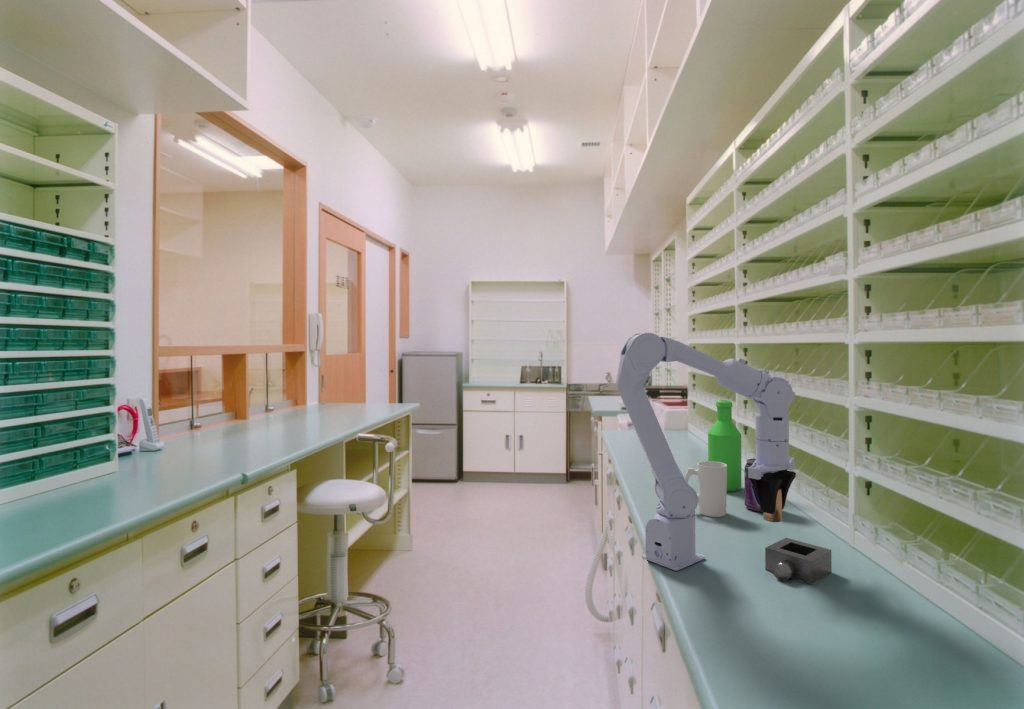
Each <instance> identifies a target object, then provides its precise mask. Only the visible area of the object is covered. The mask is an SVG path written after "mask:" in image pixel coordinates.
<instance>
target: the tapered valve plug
mask: <svg viewBox="0 0 1024 709" xmlns="http://www.w3.org/2000/svg"><path fill="white" fill-rule="evenodd" d="M762 515H763V520H764V521H766V522H770V523H781V522H783V510H782V489H781V488H779V489H778V493H777V499H776V508H775V512H774V514H770V513H765V512H762Z"/></svg>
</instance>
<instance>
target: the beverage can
mask: <svg viewBox="0 0 1024 709" xmlns="http://www.w3.org/2000/svg"><path fill="white" fill-rule="evenodd" d="M755 460H756V458H748V459H746V463H745V465H744V506H745V507H747V508H748V509H750V510H751V511H753V512H757V513H758V512H760V513H763V512H762V510H761V507H760V503H759V499H758V496H757V493H756V490H755V488H754V486H753V484H752V482H751V481H750V479H749V478H748V467H751V466H752V464H753V463H754V461H755Z"/></svg>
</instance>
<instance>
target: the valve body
mask: <svg viewBox="0 0 1024 709" xmlns="http://www.w3.org/2000/svg"><path fill="white" fill-rule="evenodd" d="M764 548H765V550H764V551H765V554H764V555H765V560H764V561H765V565H764V566H765V567H764V568H765V570H766V571H769V572H771V573H773V575H774V577H775V578H776V579H777V580H779V581H781V582H785V581H788V580H789V579H793V580H796V581H799V582H802V583H805V584H808V585H813V584H814V583H817V582H818V581H820V580H821V579H823V578H824V577H826V576H828V575H829V574H831V573H832V549H830V548H825V547H822V546H818V545H814V544H811V543H807V542H803V541H800V540H796V539H792V538H789V537H785V538H782V539H781V540H778V541H775V542H774V543H772V544H769V545H768V546H766V547H764Z"/></svg>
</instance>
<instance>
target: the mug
mask: <svg viewBox="0 0 1024 709" xmlns="http://www.w3.org/2000/svg"><path fill="white" fill-rule="evenodd" d="M696 464H697V469H694V468H693V467H688V468H687V471H686V473H685V475H684V479H685V481H686V482H687V484H689V481H690V478H691V477H692V476H693V475H694V476H697V490H698V492H697V496H698V512H699V514H700V515H702V516H706V517H710V518H711V517H712V518H721V517H726V515H727V493H728V492H727V464H724V463H721V462H713V461H708V460H706V461H705V460H704V461H698V462H697V463H696Z"/></svg>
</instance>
